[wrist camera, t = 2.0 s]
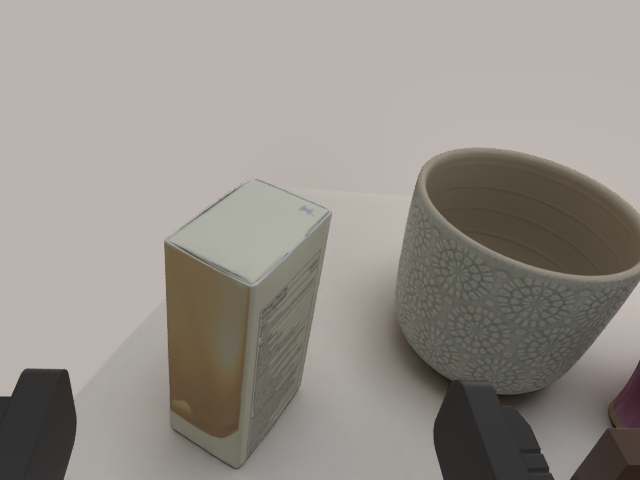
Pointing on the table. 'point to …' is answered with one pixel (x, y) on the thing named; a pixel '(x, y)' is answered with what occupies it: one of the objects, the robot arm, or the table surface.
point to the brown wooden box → (613, 457)
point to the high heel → (627, 404)
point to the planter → (511, 266)
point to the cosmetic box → (241, 314)
